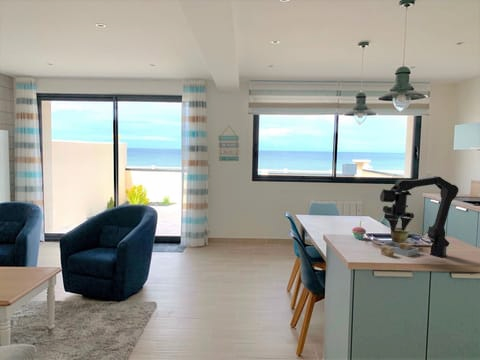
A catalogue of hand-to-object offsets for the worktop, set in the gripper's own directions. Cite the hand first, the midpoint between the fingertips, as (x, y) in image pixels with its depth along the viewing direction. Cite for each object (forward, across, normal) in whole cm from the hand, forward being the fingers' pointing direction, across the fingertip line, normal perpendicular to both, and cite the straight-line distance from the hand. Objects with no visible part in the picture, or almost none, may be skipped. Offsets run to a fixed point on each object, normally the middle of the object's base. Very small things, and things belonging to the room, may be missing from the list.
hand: (397, 231), depth 182 cm
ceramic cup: (+13, -19, -11) cm, 25 cm away
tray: (+13, -6, -2) cm, 14 cm away
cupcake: (+13, -10, -33) cm, 37 cm away
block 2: (+12, -6, +2) cm, 14 cm away
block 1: (+13, +7, -1) cm, 15 cm away
